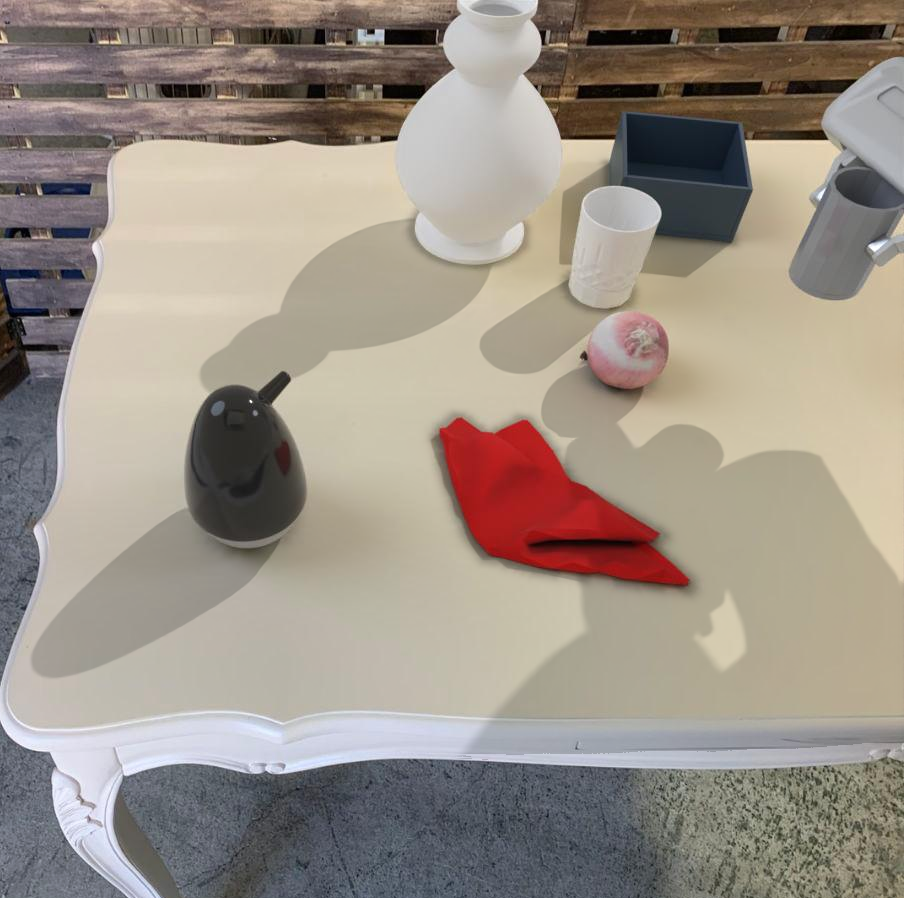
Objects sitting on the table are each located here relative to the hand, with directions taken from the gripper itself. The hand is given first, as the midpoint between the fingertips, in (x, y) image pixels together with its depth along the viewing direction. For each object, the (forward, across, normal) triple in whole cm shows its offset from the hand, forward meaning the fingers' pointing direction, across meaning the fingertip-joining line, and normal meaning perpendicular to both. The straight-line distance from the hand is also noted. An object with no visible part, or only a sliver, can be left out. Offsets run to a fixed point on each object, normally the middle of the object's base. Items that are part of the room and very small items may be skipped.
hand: (842, 231), depth 77 cm
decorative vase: (+26, +31, +2) cm, 40 cm away
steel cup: (+3, 0, -4) cm, 5 cm away
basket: (+8, +29, -15) cm, 34 cm away
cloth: (+33, -9, +10) cm, 35 cm away
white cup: (+19, +17, -4) cm, 26 cm away
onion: (+22, +4, -1) cm, 23 cm away
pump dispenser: (+50, -2, +27) cm, 57 cm away
